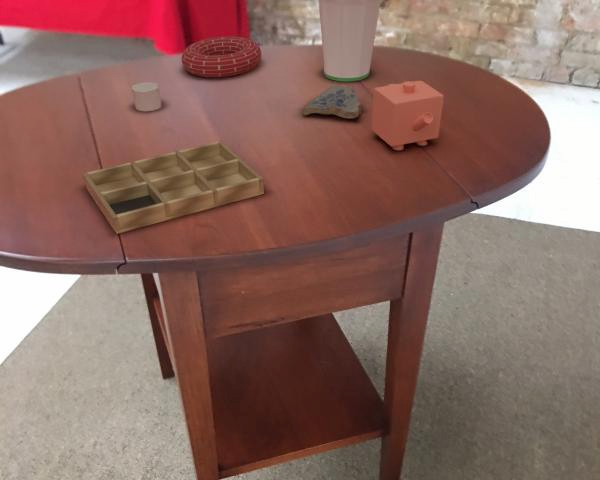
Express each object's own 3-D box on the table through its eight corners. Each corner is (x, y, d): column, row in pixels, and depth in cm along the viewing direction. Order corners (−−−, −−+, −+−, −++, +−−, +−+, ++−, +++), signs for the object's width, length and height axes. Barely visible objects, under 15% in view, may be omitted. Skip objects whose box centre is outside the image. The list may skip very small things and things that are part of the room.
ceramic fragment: (355, 115, 99) (299, 96, 101) (351, 135, 101) (297, 115, 104) (381, 92, 105) (328, 74, 108) (377, 111, 108) (325, 93, 110)
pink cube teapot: (400, 162, 91) (406, 102, 85) (365, 131, 99) (368, 74, 93) (448, 153, 93) (457, 94, 87) (409, 123, 101) (415, 67, 95)
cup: (393, 71, 118) (401, -26, 107) (354, 91, 111) (358, -11, 100) (339, 58, 123) (341, -36, 112) (299, 76, 117) (297, -22, 106)
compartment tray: (116, 234, 78) (112, 217, 77) (86, 188, 87) (82, 173, 85) (264, 193, 85) (263, 178, 83) (222, 155, 94) (221, 140, 92)
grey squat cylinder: (140, 113, 105) (136, 93, 103) (132, 104, 108) (128, 85, 106) (165, 108, 107) (162, 88, 105) (156, 99, 110) (153, 80, 107)
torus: (230, 49, 129) (228, 29, 126) (278, 64, 122) (277, 44, 119) (167, 68, 121) (163, 47, 118) (213, 86, 114) (211, 64, 111)
